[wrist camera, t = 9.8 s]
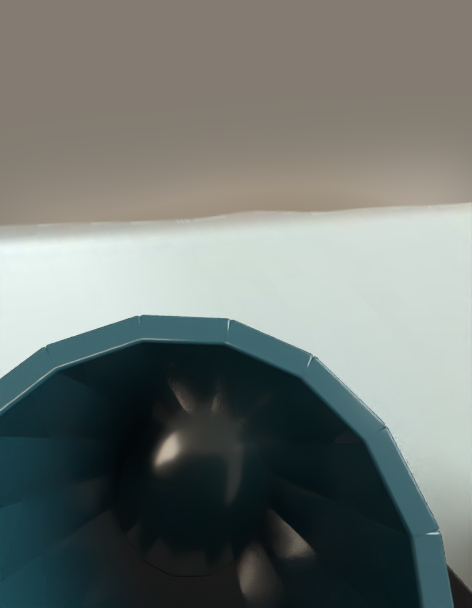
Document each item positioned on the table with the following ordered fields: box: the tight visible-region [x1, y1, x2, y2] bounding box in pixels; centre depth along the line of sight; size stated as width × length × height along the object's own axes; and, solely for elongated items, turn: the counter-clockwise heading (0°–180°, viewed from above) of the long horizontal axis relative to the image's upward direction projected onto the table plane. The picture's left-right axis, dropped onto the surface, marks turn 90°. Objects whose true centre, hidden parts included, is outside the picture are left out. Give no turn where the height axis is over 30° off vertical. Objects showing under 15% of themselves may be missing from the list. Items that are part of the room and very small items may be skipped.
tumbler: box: [0, 315, 454, 608], centre depth 9 cm, size 6×6×11 cm
